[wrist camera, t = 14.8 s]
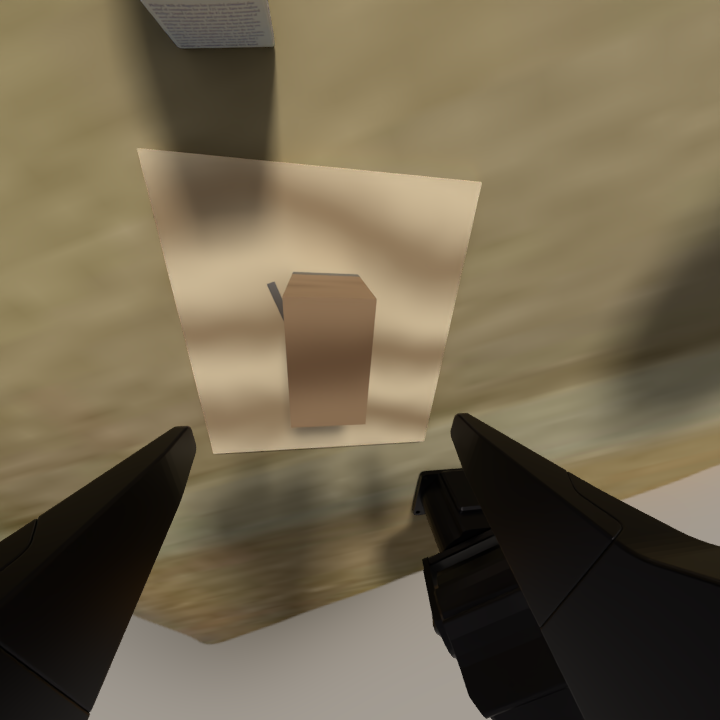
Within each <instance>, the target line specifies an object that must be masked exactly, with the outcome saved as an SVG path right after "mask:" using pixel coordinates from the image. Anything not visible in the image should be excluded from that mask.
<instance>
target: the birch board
mask: <svg viewBox="0 0 720 720" xmlns="http://www.w3.org/2000/svg"><path fill="white" fill-rule="evenodd" d="M137 151H138V155H139V159H140V163H141V167H142V171H143V175H144V179H145V183H146V187H147V191H148V195H149V199H150V203H151V207H152V211H153V215H154V219H155V223H156V227H157V231H158V235H159V239H160V243H161V247H162V251H163V254H164V258H165V262H166V266H167V270H168V274H169V278H170V282H171V286H172V290H173V294H174V298H175V302H176V306H177V310H178V314H179V318H180V322H181V326H182V330H183V334H184V338H185V342H186V346H187V350H188V354H189V358H190V362H191V366H192V370H193V374H194V378H195V382H196V386H197V390H198V394H199V398H200V402H201V406H202V410H203V414H204V418H205V422H206V426H207V430H208V434H209V438H210V442H211V446H212V450H213V454H219V453H236V452H253V451H269V450H286V449H303V448H319V447H336V446H353V445H369V444H386V443H403V442H419V441H424V439H425V435H426V430H427V426H428V421H429V417H430V412H431V408H432V404H433V399H434V395H435V390H436V386H437V381H438V377H439V372H440V368H441V363H442V359H443V354H444V350H445V345H446V341H447V337H448V332H449V328H450V323H451V319H452V314H453V310H454V305H455V301H456V296H457V292H458V287H459V283H460V278H461V274H462V270H463V265H464V261H465V256H466V252H467V247H468V243H469V238H470V234H471V229H472V225H473V220H474V216H475V211H476V207H477V202H478V198H479V194H480V189H481V185H482V182H476V181H466V180H456V179H446V178H436V177H426V176H416V175H406V174H395V173H385V172H375V171H365V170H355V169H345V168H335V167H325V166H315V165H305V164H294V163H284V162H274V161H264V160H254V159H244V158H234V157H224V156H214V155H204V154H194V153H183V152H173V151H163V150H153V149H143V148H137ZM293 272H311V273H336V274H358V275H359V276H360V278H361V279H362V280H363V281H364V283H365V284H366V285H367V287H368V288H369V289H370V291H371V292H372V293H373V295H374V296H375V297H376V299H377V303H376V313H375V324H374V335H373V346H372V357H371V368H370V379H369V390H368V401H367V412H366V423H365V424H361V425H340V426H319V427H297V428H291V417H290V402H289V388H288V373H287V358H286V344H285V329H284V314H283V300H282V296H283V294H284V292H285V289H286V287H287V285H288V282H289V280H290V278H291V275H292V273H293Z"/></svg>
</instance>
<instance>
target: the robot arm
mask: <svg viewBox="0 0 720 720" xmlns="http://www.w3.org/2000/svg"><path fill="white" fill-rule="evenodd" d="M451 438H452V441H453V443H454V446H455V449H456V452H457V454H458V457H459V460H460V462H461V465H462V468H461V469H449V470H436V471H425V472H422V473H421V475H420V479H419V483H418V487H417V492H416V496H415V500H414V504H413V509H412V510H413V514H414V515H423V514H426V516H427V519H428V522H429V525H430V527H431V530H432V533H433V535H434V538H435V541H436V543H437V546H438V549H439V551H440V553H438V554H436V555H434V556H431V557H429V558H428V557H427V558H424V559H422V561H423V566H424V570H423V571H424V577H425V581H426V586H427V591H428V596H429V601H430V606H431V611H432V619H433V627H434V630H435V632H436V633H437V634H438V635H439V636H441V637H442V639H443V641H444V644H445V646H446V647H447V649H448V651H449V653H450V654H451V656H452V657H454V658H456V659H457V661H458V664H459V666H460V669H461V673H462V675H463V679H464V682H465V685H466V688H467V691H468V694H469V697H470V698H471V700H472V701H473V703H474V704H475V705H476V707H477V708H478V710H479V711H480V712H481V714H482V715H483V716H484V717H485V718H486V719H487V718H489V717H490V718H491V719H492V720H720V546H716V545H713V544H709V543H707V542H704V541H701V540H698V539H696V538H693V537H691V536H688V535H686V534H684V533H682V532H680V531H678V530H676V529H674V528H672V527H670V526H669V525H667V524H665V523H663V522H661V521H659V520H657V519H655V518H653V517H651V516H649V515H647V514H645V513H643V512H641V511H639V510H638V509H636V508H634V507H632V506H630V505H628V504H626V503H624V502H622V501H620V500H618V499H617V498H615V497H613V496H611V495H609V494H607V493H605V492H603V491H601V490H600V489H598V488H596V487H594V486H593V485H591V484H589V483H587V482H585V481H584V480H582V479H580V478H578V477H577V476H575V475H573V474H572V473H570V472H567V471H566V470H565V469H563V468H561V467H559V466H558V465H556V464H554V463H553V462H551V461H549V460H547V459H546V458H544V457H542V456H540V455H539V454H537V453H535V452H534V451H532V450H530V449H528V448H527V447H525V446H523V445H522V444H520V443H518V442H516V441H515V440H513V439H511V438H509V437H508V436H506V435H504V434H503V433H501V432H499V431H497V430H496V429H494V428H492V427H490V426H489V425H487V424H485V423H484V422H482V421H480V420H478V419H477V418H475V417H473V416H472V415H470V414H468V413H458V414H456V415H455V417H454V420H453V424H452V428H451ZM195 453H196V443H195V440H194V436H193V433H192V430H191V428H190V427H189V426H177V427H174V428H172V429H170V430H169V431H167V432H166V433H164V434H163V435H161V436H160V437H158V438H157V439H155V440H154V441H152V442H151V443H149V444H148V445H146V446H145V447H143V448H142V449H140V450H139V451H137V452H136V453H134V454H133V455H131V456H130V457H128V458H126V459H125V460H123V461H122V462H120V463H119V464H117V465H116V466H114V467H113V468H111V469H110V470H108V471H107V472H105V473H104V474H102V475H101V476H99V477H98V478H96V479H95V480H93V481H92V482H90V483H89V484H87V485H86V486H84V487H83V488H81V489H80V490H78V491H77V492H75V493H74V494H72V495H71V496H69V497H68V498H66V499H64V500H63V501H61V502H60V503H58V504H57V505H55V506H54V507H52V508H51V509H49V510H48V511H46V512H45V513H43V514H42V515H40V516H39V517H38V519H34V520H33V521H31V522H30V523H28V524H27V525H25V526H24V527H22V528H21V529H19V530H17V531H16V532H14V533H13V534H11V535H10V536H8V537H7V538H5V539H4V540H2V541H1V542H0V720H88V718H89V715H90V713H89V712H90V711H91V710H92V708H93V705H94V703H95V701H96V698H97V696H98V694H99V691H100V689H101V687H102V684H103V682H104V680H105V677H106V675H107V673H108V670H109V668H110V666H111V663H112V661H113V658H114V656H115V654H116V652H117V649H118V647H119V645H120V642H121V640H122V637H123V635H124V633H125V631H126V628H127V626H128V623H129V621H130V619H131V616H132V614H133V612H134V609H135V607H136V605H137V602H138V600H139V598H140V595H141V593H142V591H143V588H144V586H145V584H146V581H147V579H148V577H149V574H150V572H151V570H152V567H153V565H154V563H155V560H156V558H157V556H158V553H159V551H160V549H161V546H162V544H163V542H164V539H165V537H166V535H167V532H168V530H169V528H170V525H171V523H172V521H173V518H174V516H175V513H176V511H177V509H178V506H179V504H180V501H181V499H182V496H183V493H184V490H185V486H186V483H187V480H188V476H189V473H190V470H191V466H192V463H193V460H194V457H195Z"/></svg>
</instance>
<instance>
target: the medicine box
mask: <svg viewBox="0 0 720 720" xmlns="http://www.w3.org/2000/svg"><path fill="white" fill-rule="evenodd" d="M140 1H141V2H142V3H143V4H144V6H145V7H146V8H147V10H148V11H149V12H150V13H151V15H152V16H153V17H154V18H155V20H156V21H157V22H158V23H159V25H160V26H161V27H162V29H163V30H164V31H165V32H166V33H167V35H168V36H169V37H170V39H171V40H172V41H173V42H174V43H175V44H176V46H177V47H178V48H231V47H273V46H274V45H275V41H274V33H273V28H272V22H271V17H270V11H269V4H268V0H140Z"/></svg>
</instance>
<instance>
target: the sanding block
mask: <svg viewBox="0 0 720 720" xmlns="http://www.w3.org/2000/svg"><path fill="white" fill-rule="evenodd" d="M282 300H283V314H284V329H285V344H286V358H287V373H288V388H289V402H290V417H291V428H297V427H319V426H340V425H361V424H365V423H366V412H367V401H368V390H369V379H370V368H371V357H372V346H373V335H374V324H375V313H376V303H377V299H376V297H375V296H374V295H373V293H372V292H371V291H370V289H369V288H368V287H367V285H366V284H365V283H364V281H363V280H362V279H361V278H360V276H359V275H358V274H336V273H311V272H293V273H292V275H291V278H290V280H289V282H288V285H287V287H286V289H285V292H284V294H283V296H282Z"/></svg>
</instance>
